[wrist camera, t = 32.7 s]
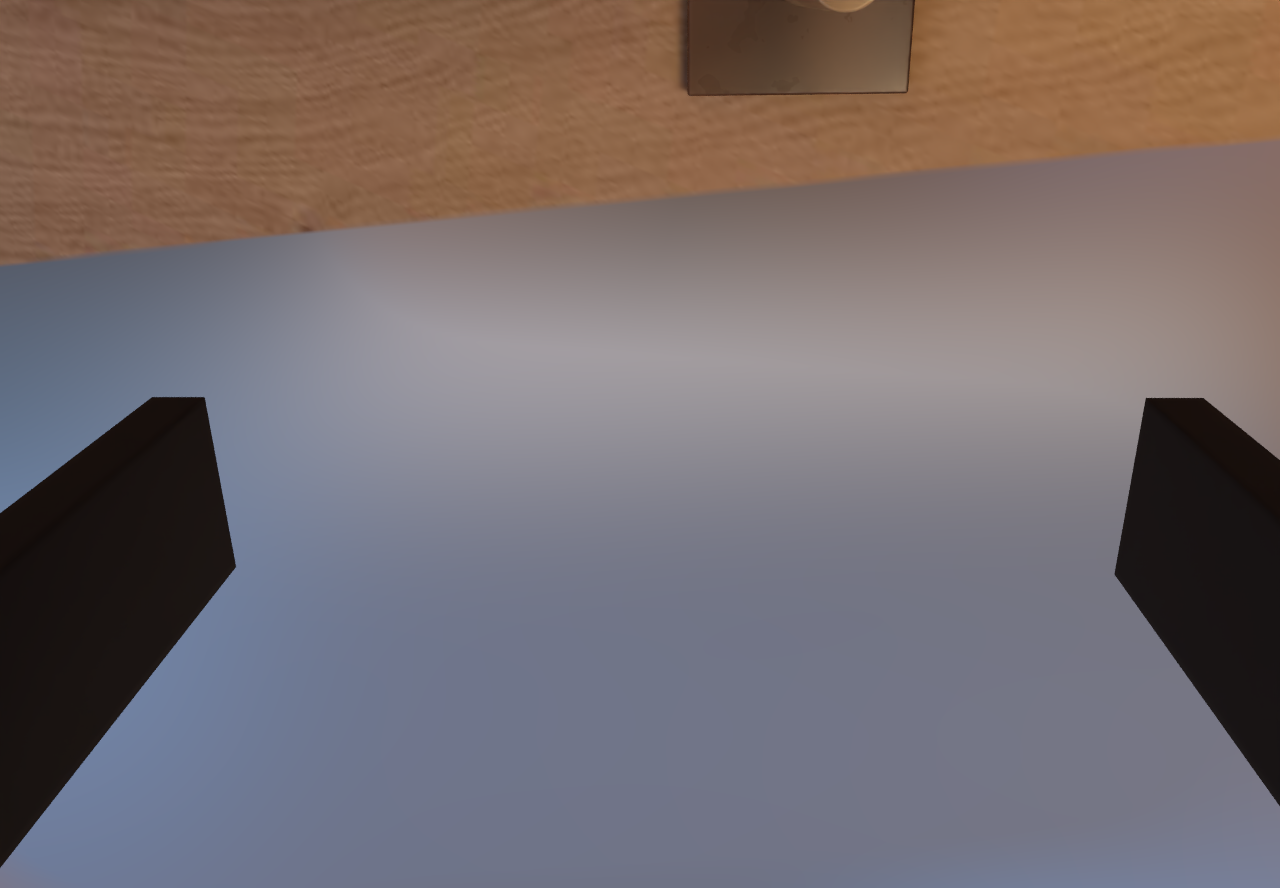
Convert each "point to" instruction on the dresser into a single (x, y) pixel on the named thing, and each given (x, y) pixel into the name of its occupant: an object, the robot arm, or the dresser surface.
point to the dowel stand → (799, 47)
